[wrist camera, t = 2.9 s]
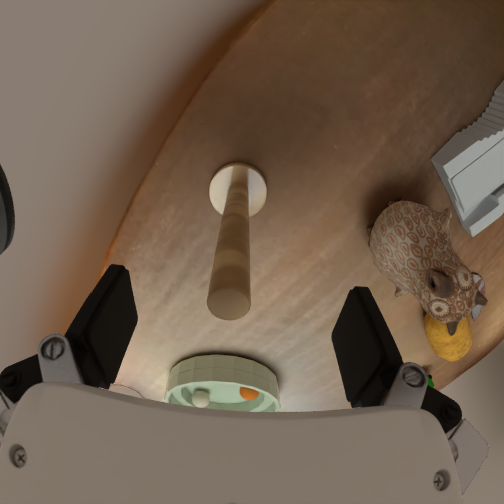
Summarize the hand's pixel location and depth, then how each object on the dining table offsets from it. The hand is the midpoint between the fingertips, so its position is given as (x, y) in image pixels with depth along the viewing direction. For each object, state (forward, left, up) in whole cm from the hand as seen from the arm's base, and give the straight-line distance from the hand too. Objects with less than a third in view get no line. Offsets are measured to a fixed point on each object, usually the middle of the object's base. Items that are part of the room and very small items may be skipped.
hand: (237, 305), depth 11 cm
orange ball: (+4, -30, -13) cm, 32 cm away
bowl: (0, -31, -15) cm, 34 cm away
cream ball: (-4, -34, -13) cm, 36 cm away
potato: (+32, -15, -15) cm, 38 cm away
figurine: (+16, -1, -15) cm, 22 cm away
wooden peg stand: (0, 0, -15) cm, 15 cm away
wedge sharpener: (+29, +11, -15) cm, 34 cm away
